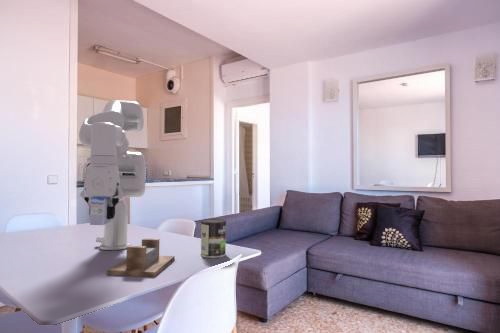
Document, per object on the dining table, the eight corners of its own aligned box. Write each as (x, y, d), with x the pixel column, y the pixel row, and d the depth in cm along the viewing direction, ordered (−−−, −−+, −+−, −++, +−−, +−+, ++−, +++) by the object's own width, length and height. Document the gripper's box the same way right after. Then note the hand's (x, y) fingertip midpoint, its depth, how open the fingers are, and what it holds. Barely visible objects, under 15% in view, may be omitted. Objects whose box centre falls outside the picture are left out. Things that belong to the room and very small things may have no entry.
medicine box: (99, 220, 107) (100, 194, 107) (113, 221, 108) (114, 194, 108) (89, 225, 99) (90, 197, 99) (104, 225, 100) (104, 197, 100)
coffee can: (229, 253, 136) (230, 219, 136) (219, 259, 126) (219, 223, 126) (207, 250, 140) (208, 218, 140) (195, 256, 130) (196, 221, 130)
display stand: (107, 274, 106) (107, 248, 106) (134, 258, 125) (134, 236, 126) (154, 276, 104) (155, 250, 104) (174, 260, 124) (175, 237, 124)
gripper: (70, 160, 101) (69, 219, 101) (122, 161, 99) (121, 221, 99) (85, 161, 108) (84, 215, 108) (134, 162, 106) (133, 217, 106)
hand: (102, 217), depth 104 cm, fingers closed on medicine box, 5 cm apart
